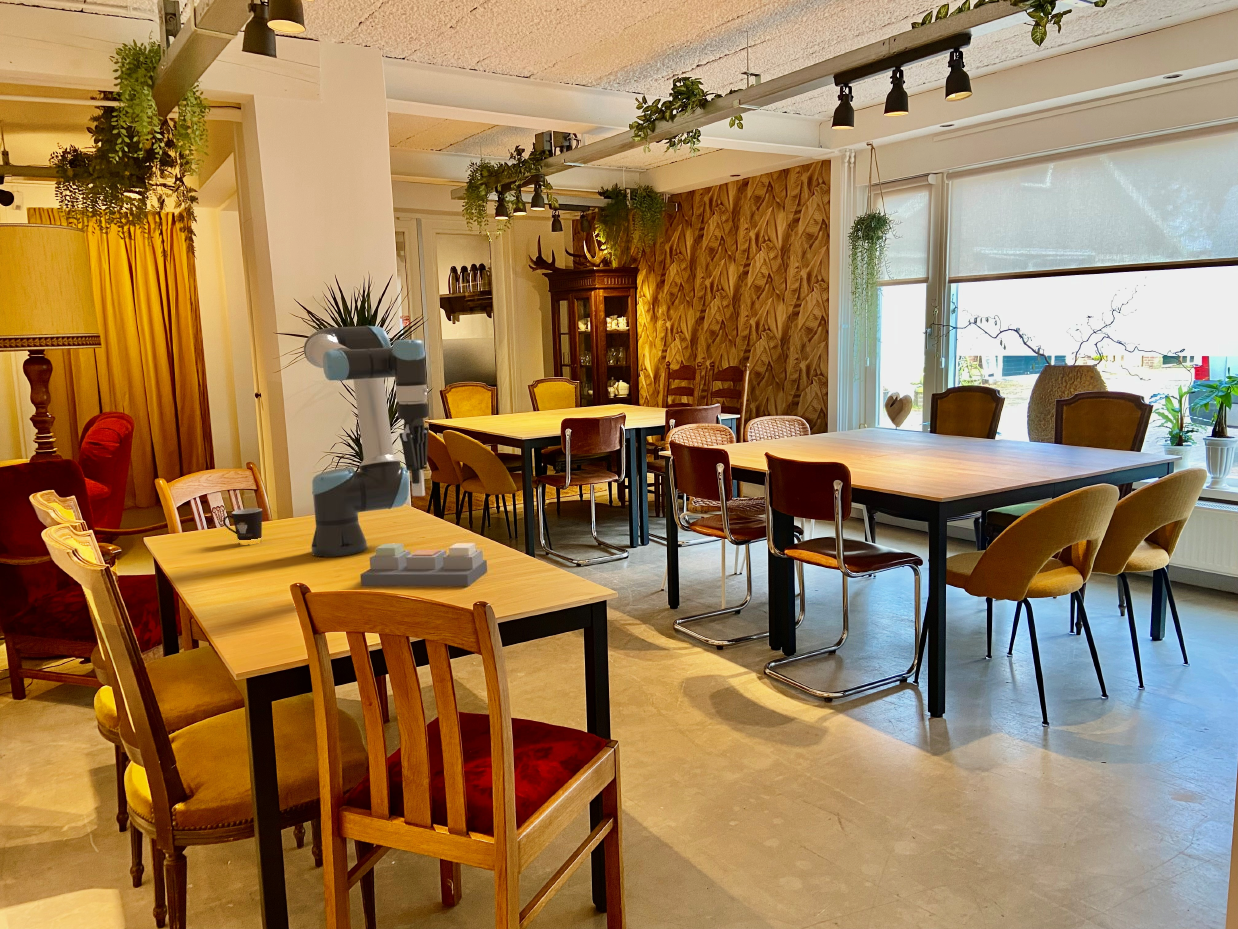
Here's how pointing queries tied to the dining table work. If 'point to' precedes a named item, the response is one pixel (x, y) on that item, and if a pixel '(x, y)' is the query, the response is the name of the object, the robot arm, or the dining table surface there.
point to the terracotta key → (426, 553)
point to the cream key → (462, 549)
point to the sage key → (389, 550)
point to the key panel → (424, 570)
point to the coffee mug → (247, 523)
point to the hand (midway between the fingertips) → (418, 495)
